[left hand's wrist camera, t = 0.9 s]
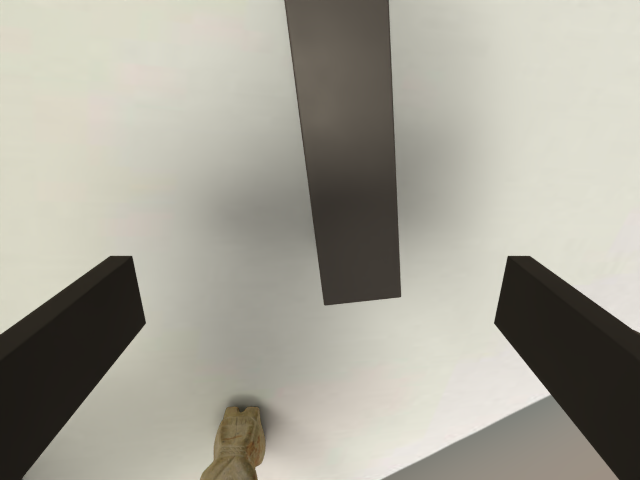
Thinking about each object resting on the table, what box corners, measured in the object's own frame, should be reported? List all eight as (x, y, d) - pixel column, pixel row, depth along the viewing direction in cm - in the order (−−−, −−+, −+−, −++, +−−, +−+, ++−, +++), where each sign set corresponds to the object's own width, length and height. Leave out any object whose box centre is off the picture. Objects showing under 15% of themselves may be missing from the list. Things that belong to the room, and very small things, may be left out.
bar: (378, 246, 32) (401, 297, 23) (321, 252, 32) (324, 305, 24) (357, -68, 24) (381, -167, 15) (282, -58, 24) (264, -150, 16)
